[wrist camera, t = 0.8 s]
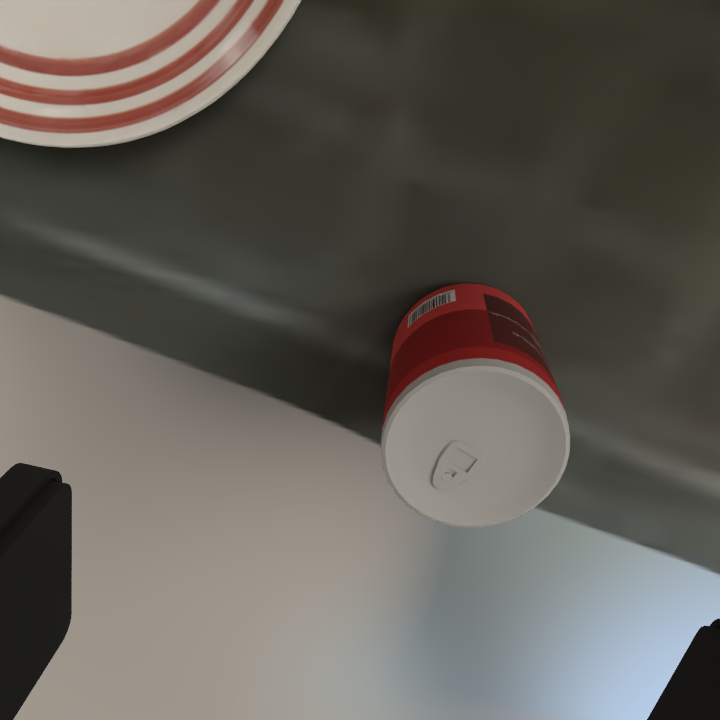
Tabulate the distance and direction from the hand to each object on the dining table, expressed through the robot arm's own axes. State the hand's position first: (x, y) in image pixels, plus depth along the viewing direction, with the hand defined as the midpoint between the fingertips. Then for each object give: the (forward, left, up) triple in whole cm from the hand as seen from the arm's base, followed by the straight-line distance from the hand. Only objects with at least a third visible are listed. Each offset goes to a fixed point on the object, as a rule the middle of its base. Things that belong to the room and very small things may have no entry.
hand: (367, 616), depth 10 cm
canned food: (+3, +7, -27) cm, 29 cm away
